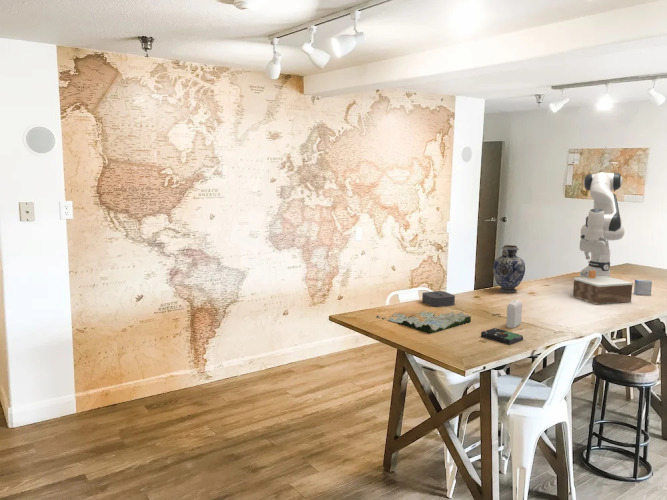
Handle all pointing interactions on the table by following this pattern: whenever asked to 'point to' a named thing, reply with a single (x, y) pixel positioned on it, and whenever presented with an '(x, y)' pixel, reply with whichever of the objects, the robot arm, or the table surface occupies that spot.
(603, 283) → the box lid
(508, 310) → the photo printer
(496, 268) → the decorative vase
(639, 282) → the medicine box
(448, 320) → the topographic map model
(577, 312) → the table surface
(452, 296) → the streaming box
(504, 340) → the disk drive
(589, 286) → the wooden box
